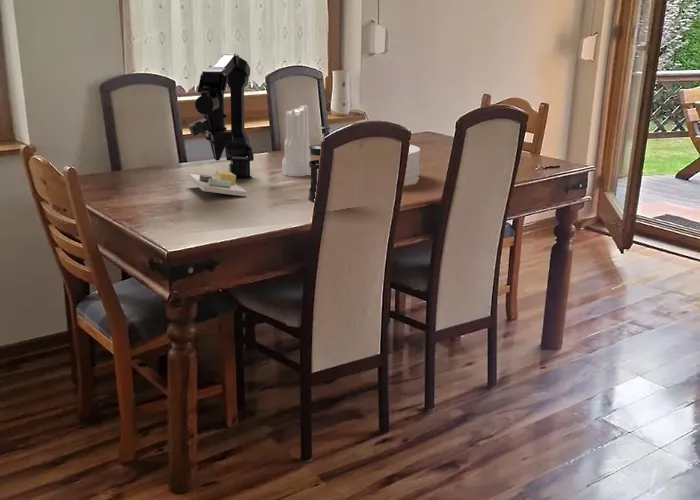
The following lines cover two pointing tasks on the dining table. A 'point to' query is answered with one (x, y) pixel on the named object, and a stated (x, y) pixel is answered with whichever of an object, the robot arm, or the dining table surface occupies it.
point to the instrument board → (216, 188)
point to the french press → (315, 166)
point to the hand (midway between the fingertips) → (216, 159)
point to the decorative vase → (297, 143)
